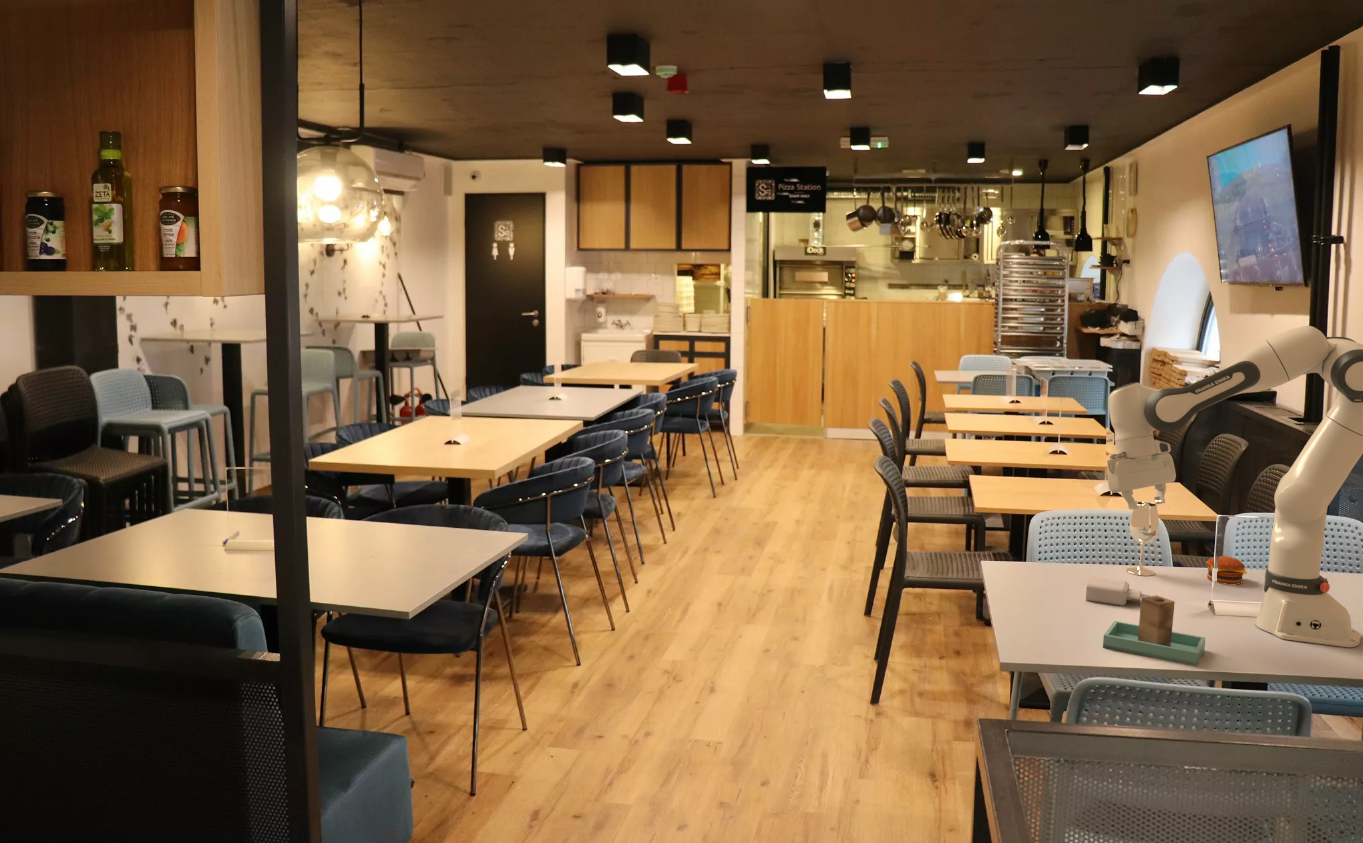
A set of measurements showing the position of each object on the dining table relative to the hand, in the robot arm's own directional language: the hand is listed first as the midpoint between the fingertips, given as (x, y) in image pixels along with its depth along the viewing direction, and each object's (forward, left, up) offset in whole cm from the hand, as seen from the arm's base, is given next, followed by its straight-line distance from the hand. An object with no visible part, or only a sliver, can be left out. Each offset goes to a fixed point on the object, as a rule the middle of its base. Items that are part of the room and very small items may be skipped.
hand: (1147, 506), depth 272 cm
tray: (-7, +17, -30) cm, 35 cm away
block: (-7, +17, -29) cm, 34 cm away
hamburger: (-14, -53, -30) cm, 62 cm away
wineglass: (+8, -47, -30) cm, 56 cm away
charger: (+8, -16, -30) cm, 35 cm away
